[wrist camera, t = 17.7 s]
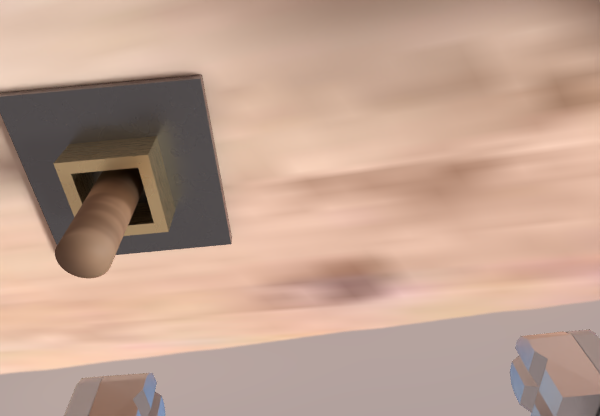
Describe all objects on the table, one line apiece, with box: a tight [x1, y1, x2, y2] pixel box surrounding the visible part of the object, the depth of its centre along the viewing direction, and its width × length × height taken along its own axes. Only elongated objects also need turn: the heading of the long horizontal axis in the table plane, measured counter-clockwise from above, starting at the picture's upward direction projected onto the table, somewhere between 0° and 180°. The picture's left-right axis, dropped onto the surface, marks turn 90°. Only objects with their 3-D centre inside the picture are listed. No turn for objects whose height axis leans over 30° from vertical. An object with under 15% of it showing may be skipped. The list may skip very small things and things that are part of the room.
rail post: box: [55, 168, 144, 278], centre depth 37 cm, size 4×4×11 cm
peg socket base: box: [0, 75, 232, 255], centre depth 40 cm, size 16×16×4 cm
